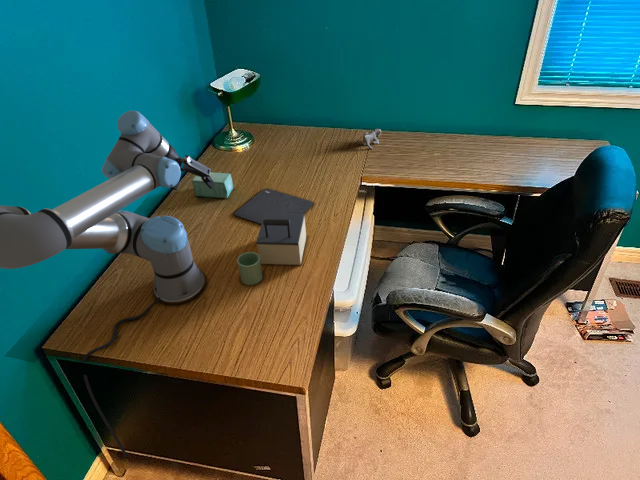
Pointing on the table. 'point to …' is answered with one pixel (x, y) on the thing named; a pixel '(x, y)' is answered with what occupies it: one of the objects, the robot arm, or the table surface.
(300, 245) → the open square bin
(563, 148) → the table surface
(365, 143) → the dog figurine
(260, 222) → the mouse pad
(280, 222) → the bin lid
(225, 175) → the box
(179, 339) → the table surface
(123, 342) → the table surface
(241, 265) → the green cup
